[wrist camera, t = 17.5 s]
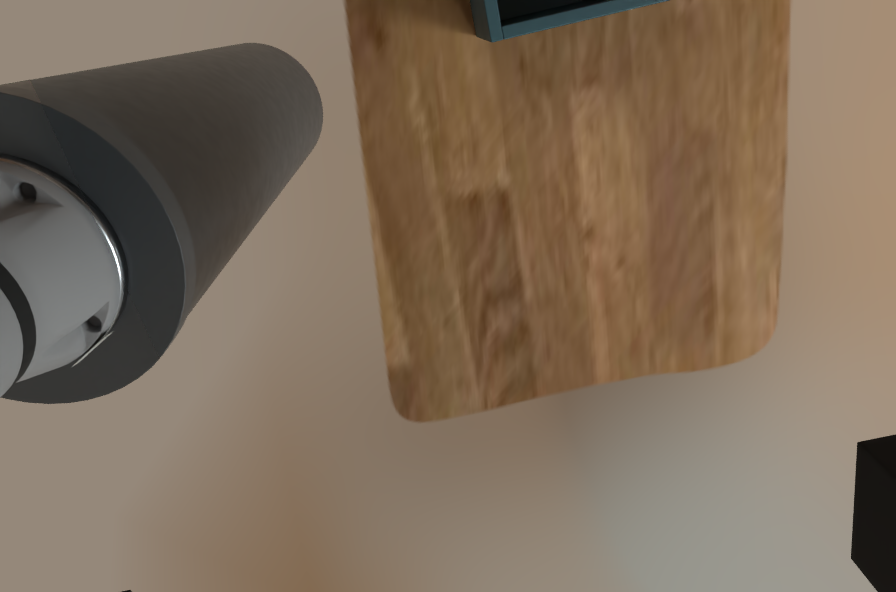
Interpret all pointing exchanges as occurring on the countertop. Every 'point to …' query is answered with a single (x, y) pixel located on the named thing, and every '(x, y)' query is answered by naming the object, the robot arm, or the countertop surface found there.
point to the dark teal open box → (540, 14)
